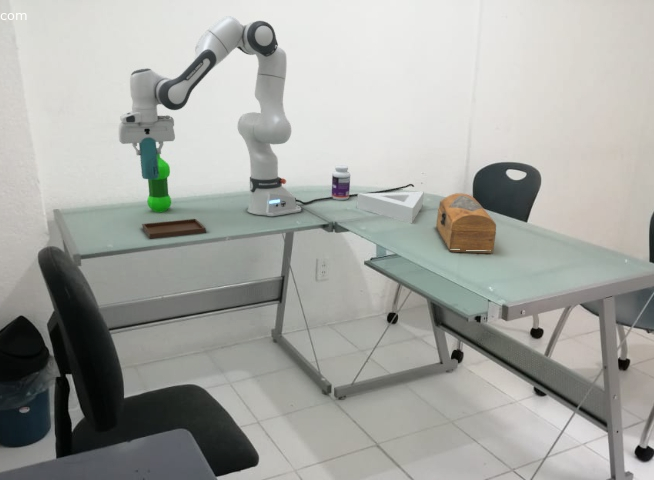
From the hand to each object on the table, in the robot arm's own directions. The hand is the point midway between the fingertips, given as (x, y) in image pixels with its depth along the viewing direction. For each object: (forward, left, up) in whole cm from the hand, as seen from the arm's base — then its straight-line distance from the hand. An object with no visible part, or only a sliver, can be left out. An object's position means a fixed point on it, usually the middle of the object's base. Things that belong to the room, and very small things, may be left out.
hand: (148, 154), depth 226 cm
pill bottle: (-85, -5, -25) cm, 89 cm away
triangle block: (-101, +23, -26) cm, 107 cm away
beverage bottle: (0, 0, -10) cm, 10 cm away
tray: (-4, +17, -25) cm, 31 cm away
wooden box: (-98, +66, -25) cm, 121 cm away
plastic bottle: (-5, -13, -25) cm, 29 cm away
